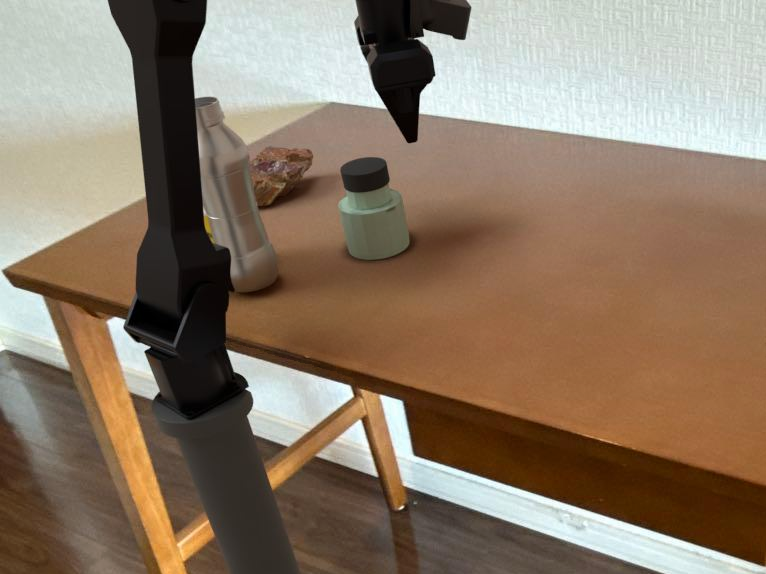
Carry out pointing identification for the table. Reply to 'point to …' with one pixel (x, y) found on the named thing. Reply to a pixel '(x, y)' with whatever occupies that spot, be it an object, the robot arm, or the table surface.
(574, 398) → the table surface
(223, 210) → the plastic bottle
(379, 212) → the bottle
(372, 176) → the stopper
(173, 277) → the robot arm
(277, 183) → the mineral specimen
